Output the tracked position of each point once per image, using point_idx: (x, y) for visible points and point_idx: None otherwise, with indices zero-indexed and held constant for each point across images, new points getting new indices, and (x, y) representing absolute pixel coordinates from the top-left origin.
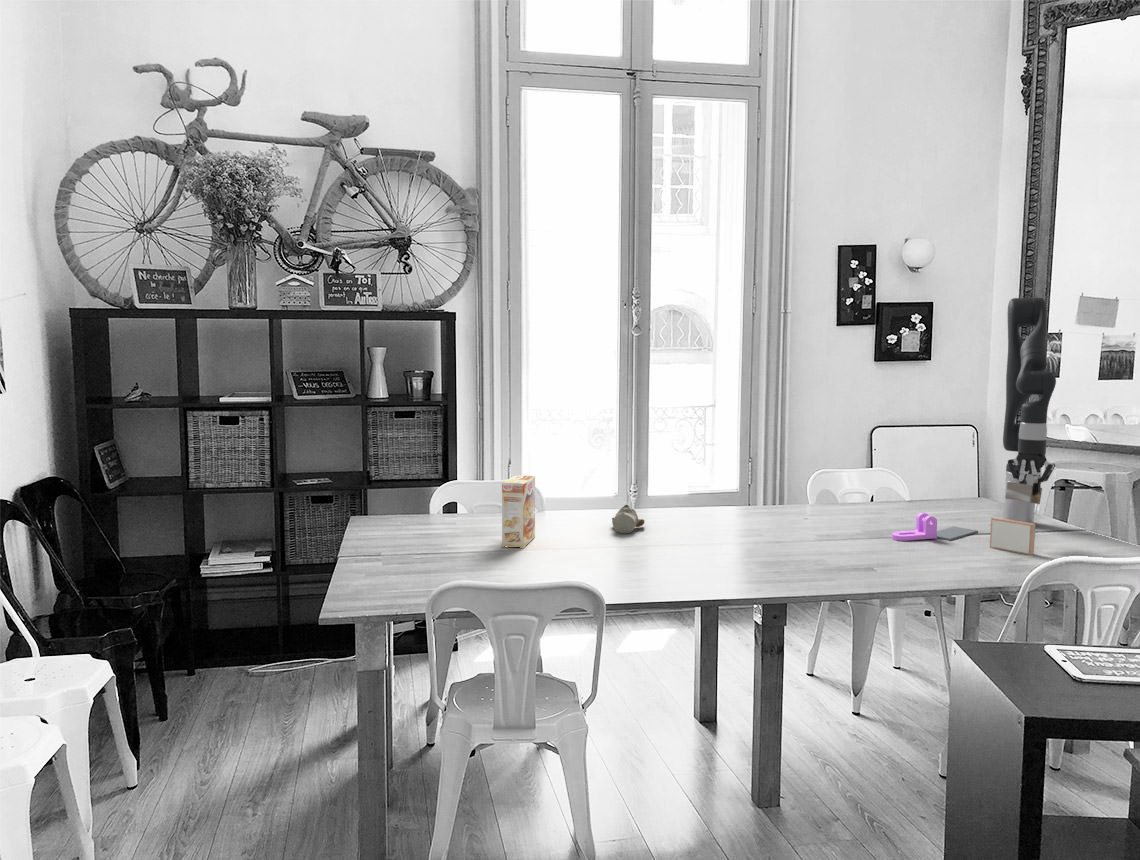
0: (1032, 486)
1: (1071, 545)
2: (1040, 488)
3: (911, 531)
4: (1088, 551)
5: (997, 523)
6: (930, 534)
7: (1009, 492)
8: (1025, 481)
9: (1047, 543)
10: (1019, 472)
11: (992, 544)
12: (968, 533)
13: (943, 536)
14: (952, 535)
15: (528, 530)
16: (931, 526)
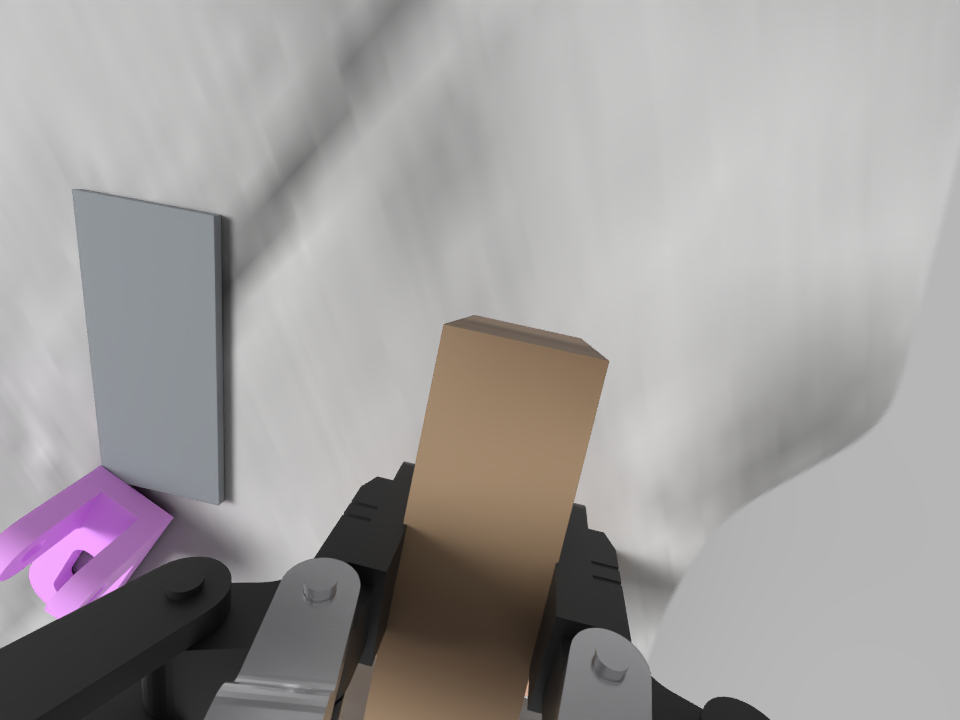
0: (526, 680)
1: (766, 214)
2: (591, 414)
3: (64, 540)
4: (873, 324)
5: None
6: (146, 549)
7: None
8: (373, 600)
9: (623, 255)
10: (140, 660)
11: None
12: (216, 329)
13: (176, 476)
14: (191, 431)
15: None
16: (116, 576)
